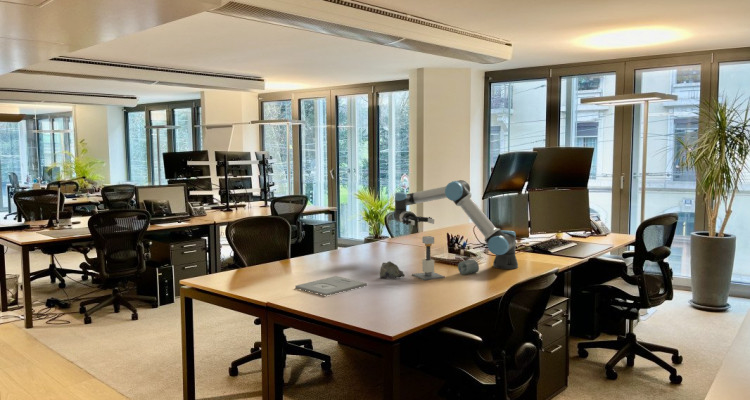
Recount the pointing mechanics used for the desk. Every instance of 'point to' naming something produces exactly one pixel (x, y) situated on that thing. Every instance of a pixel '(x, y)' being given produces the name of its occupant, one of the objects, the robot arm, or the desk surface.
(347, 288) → the award plaque
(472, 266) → the grey oval lump
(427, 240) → the stand
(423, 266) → the sleeve
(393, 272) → the mineral rock
